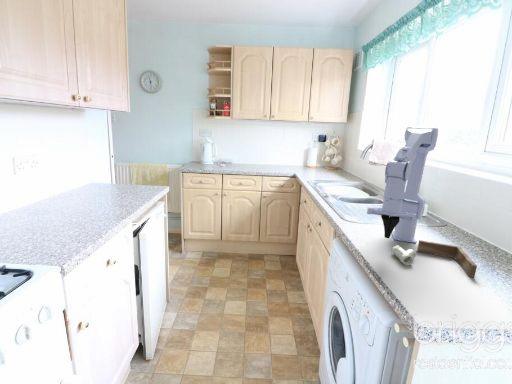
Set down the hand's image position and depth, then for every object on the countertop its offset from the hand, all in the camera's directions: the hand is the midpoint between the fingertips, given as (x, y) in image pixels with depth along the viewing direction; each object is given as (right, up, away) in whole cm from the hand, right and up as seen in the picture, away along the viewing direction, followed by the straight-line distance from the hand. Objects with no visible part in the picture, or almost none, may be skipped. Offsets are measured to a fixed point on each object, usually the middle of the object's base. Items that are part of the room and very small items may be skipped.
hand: (386, 237), depth 96 cm
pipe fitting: (+6, -8, -1) cm, 10 cm away
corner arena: (+18, -8, -2) cm, 20 cm away
